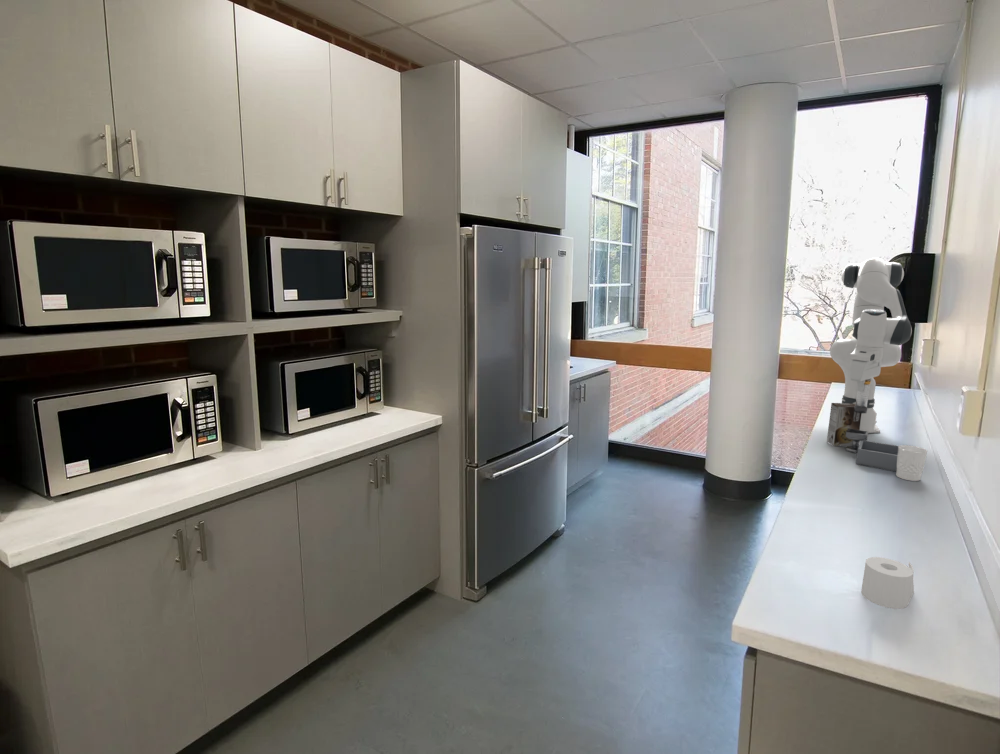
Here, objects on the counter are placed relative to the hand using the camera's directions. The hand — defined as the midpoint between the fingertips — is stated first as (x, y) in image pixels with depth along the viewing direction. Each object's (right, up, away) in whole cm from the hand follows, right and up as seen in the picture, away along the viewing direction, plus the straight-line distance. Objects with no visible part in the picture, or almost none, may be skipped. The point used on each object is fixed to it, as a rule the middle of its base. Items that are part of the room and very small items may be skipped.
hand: (863, 390), depth 218 cm
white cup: (0, -29, -24) cm, 37 cm away
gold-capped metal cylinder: (0, -8, +2) cm, 8 cm away
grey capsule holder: (-1, -23, +4) cm, 24 cm away
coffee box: (-1, -22, +13) cm, 25 cm away
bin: (0, -26, -10) cm, 28 cm away
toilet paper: (-54, -41, -97) cm, 118 cm away
